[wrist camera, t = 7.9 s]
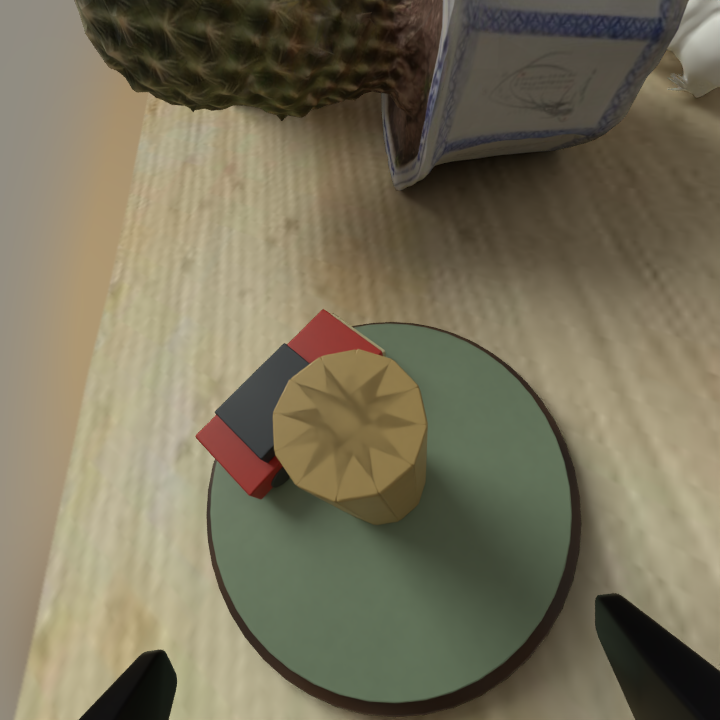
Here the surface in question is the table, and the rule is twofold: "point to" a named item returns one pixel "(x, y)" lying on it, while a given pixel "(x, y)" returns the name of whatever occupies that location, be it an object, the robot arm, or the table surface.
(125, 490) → the table surface
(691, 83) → the white crumpled lump
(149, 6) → the potted plant
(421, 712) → the display stand
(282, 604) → the turntable
